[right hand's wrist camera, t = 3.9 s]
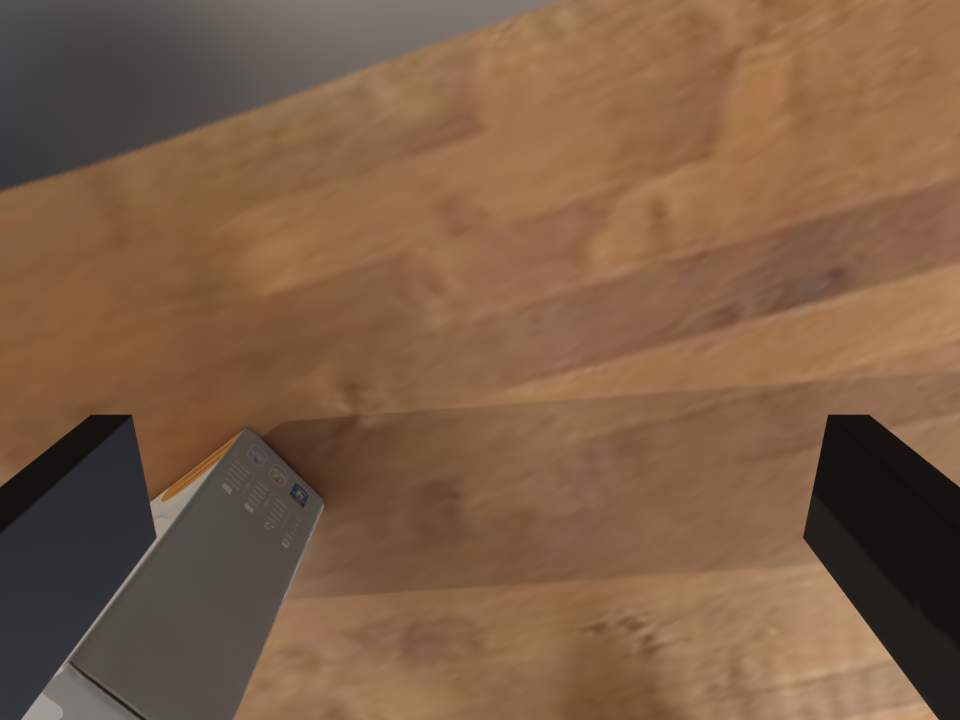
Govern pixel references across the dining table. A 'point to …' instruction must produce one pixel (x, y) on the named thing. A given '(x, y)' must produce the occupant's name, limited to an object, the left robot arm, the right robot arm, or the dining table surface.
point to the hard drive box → (194, 596)
